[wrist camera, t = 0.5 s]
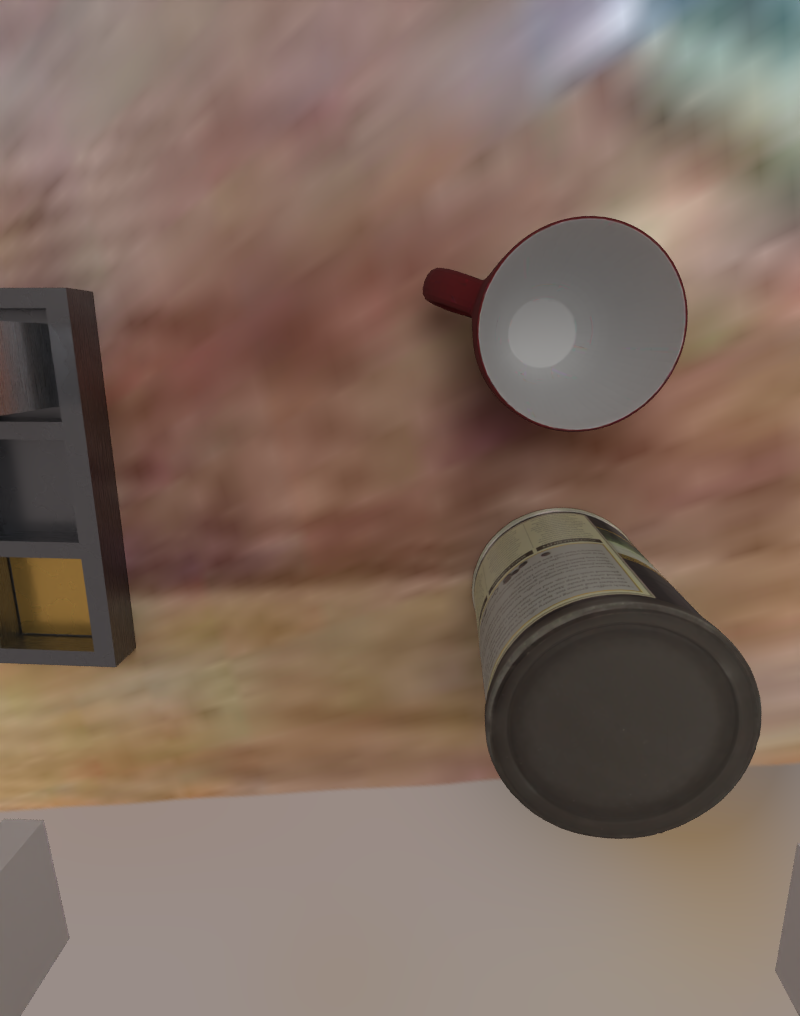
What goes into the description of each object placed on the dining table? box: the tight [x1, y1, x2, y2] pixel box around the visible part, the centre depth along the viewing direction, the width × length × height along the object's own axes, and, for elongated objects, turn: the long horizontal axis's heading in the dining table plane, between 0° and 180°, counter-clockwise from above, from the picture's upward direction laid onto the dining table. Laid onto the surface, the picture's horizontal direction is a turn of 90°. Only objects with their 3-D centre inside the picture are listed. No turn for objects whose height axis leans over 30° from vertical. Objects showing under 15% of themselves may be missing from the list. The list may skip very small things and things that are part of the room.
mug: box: [423, 216, 687, 432], centre depth 28 cm, size 11×8×10 cm
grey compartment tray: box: [0, 288, 136, 667], centre depth 36 cm, size 22×9×2 cm, turn 0°
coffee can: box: [472, 508, 761, 839], centre depth 30 cm, size 10×10×14 cm
